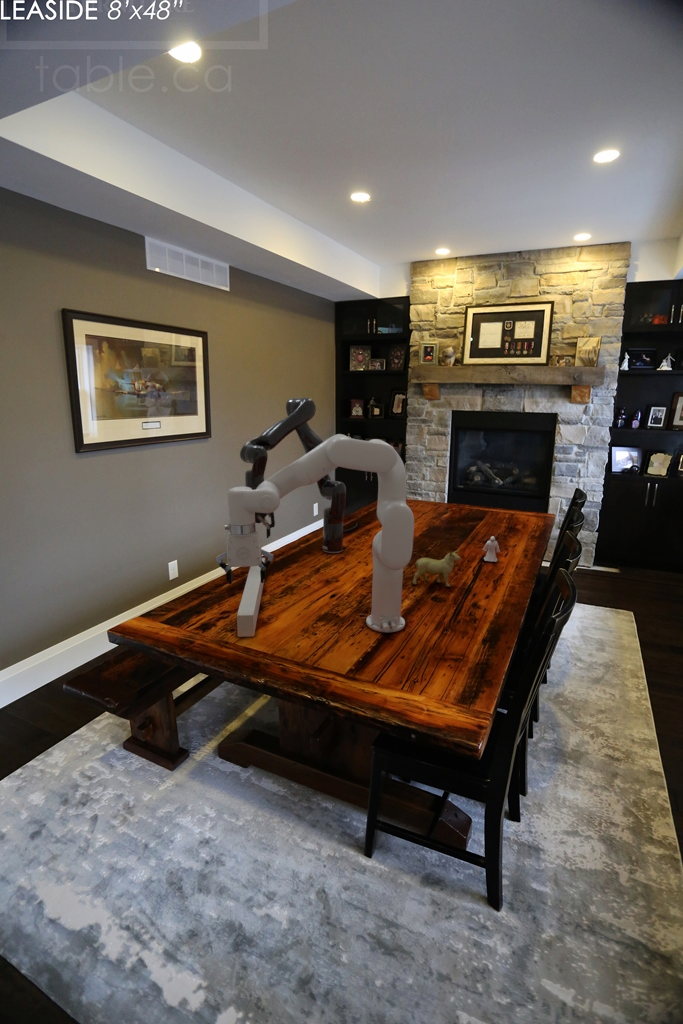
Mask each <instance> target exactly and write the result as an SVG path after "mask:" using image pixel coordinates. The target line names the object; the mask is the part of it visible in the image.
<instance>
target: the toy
mask: <svg viewBox="0 0 683 1024" xmlns="http://www.w3.org/2000/svg"><path fill="white" fill-rule="evenodd" d="M459 552H460V550H455V551H453V552H448V553H447V554H446V555H445V556H444V558H442V559H433V558H430V557H421V558H419V559H416V562H415V567H416V568H417V571H416V572H415V573H414V576H413V579H412V584H413V586H417V585H418V583H417V580H418V578H419V577H420V576H421V577H422V578H423V579H424V582H428V581H429V578H428V577H427V575H425V574H426V573H427V574H429V575H432V576H437V575H438V576H437V577H438V578H437V579H436V583H437V584H442V582H441V579H442V578H443V579H444V583H445V586H446V587H447V588H448V589H450V588H452V586H451V585H450V583H449V575H451V573H452V572H453V569H454V567H455V561H457V562H461V560H462V558H461V556H459V555H458V553H459Z"/></svg>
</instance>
